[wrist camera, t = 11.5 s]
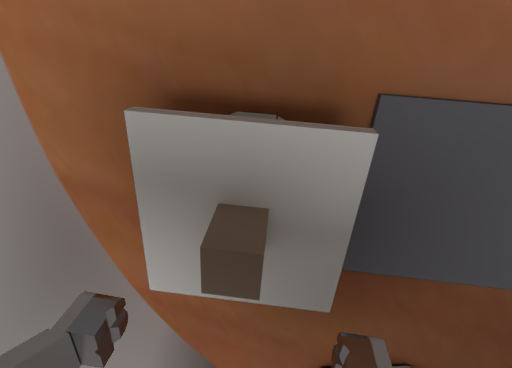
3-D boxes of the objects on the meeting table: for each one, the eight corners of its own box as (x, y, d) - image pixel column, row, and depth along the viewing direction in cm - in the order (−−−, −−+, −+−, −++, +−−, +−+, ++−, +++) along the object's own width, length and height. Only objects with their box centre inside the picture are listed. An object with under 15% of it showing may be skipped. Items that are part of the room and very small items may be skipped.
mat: (620, 114, 18) (629, 115, 18) (508, 285, 25) (512, 290, 24) (379, 93, 19) (381, 95, 18) (335, 265, 26) (335, 269, 25)
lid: (373, 128, 15) (409, 166, 10) (328, 301, 21) (338, 371, 16) (133, 106, 16) (72, 132, 11) (155, 279, 22) (121, 341, 17)
